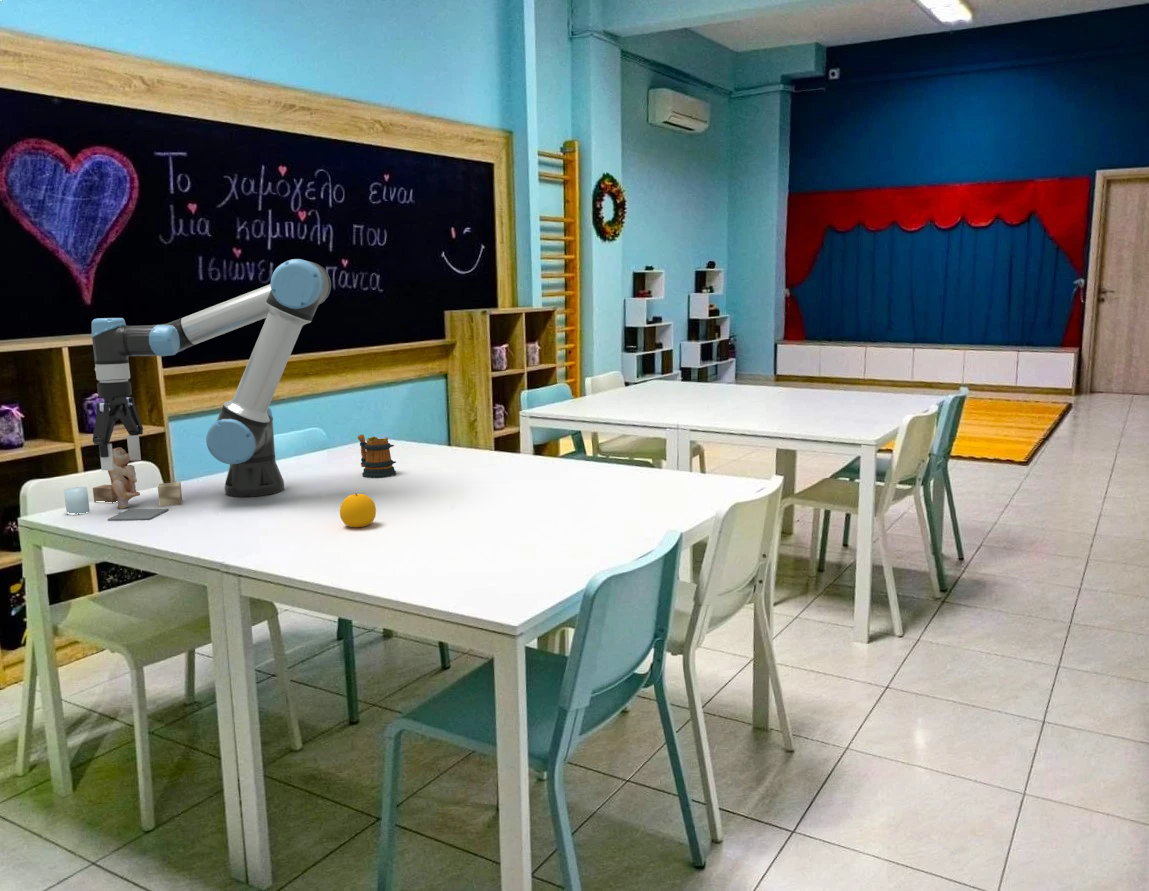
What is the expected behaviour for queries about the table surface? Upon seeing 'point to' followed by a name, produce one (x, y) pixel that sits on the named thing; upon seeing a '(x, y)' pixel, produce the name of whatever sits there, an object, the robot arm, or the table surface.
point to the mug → (376, 457)
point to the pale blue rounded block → (77, 500)
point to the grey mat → (137, 514)
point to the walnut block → (104, 494)
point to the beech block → (170, 494)
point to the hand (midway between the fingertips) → (121, 465)
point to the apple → (357, 510)
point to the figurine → (123, 478)
